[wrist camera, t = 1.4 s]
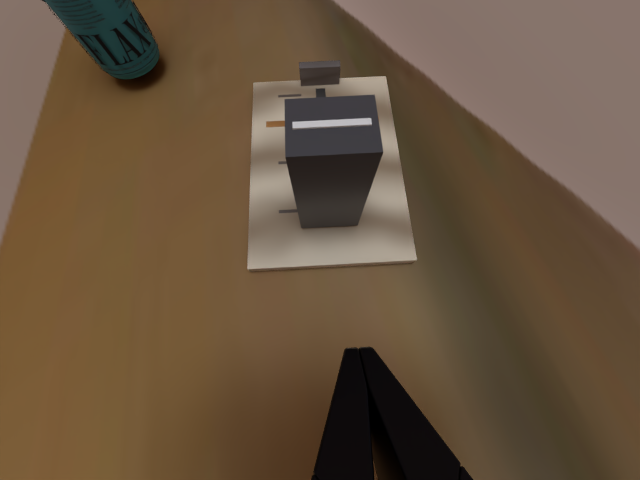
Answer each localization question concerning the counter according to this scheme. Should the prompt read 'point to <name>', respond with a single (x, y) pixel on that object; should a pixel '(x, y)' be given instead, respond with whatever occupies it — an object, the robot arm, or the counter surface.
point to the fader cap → (332, 157)
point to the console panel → (277, 194)
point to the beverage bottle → (110, 34)
